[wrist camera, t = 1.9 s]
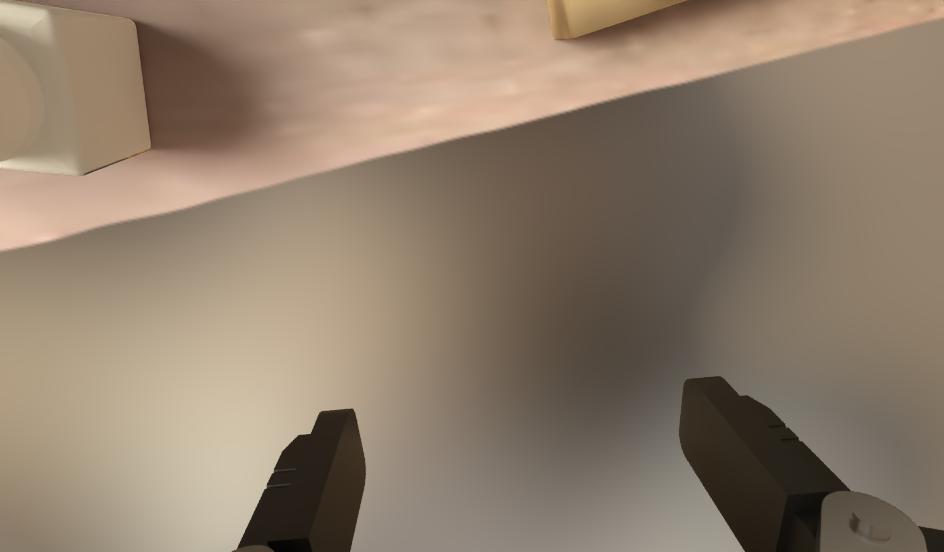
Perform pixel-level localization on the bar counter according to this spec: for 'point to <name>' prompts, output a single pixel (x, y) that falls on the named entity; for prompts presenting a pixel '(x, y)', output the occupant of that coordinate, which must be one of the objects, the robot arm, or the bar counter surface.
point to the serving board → (597, 14)
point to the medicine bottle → (69, 90)
